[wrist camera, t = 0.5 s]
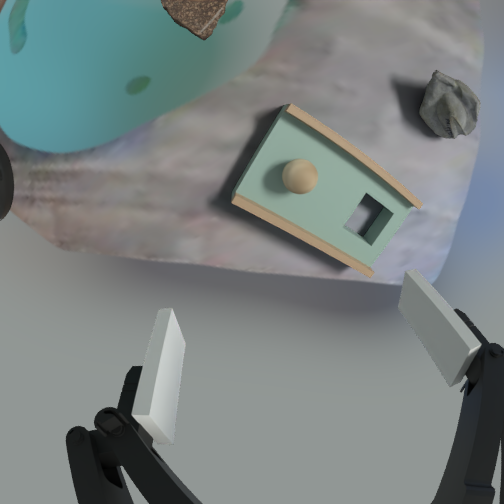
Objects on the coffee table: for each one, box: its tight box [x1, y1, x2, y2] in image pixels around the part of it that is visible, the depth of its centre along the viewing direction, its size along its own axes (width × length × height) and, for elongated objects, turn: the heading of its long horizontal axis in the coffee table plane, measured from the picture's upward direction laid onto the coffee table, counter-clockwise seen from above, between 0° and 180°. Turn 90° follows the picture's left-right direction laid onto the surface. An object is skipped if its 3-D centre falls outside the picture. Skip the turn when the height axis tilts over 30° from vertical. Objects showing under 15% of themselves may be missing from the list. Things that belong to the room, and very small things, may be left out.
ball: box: [282, 159, 318, 194], centre depth 30 cm, size 4×4×4 cm
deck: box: [231, 104, 423, 278], centre depth 35 cm, size 22×13×4 cm, turn 60°
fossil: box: [419, 70, 480, 139], centre depth 27 cm, size 11×9×8 cm
